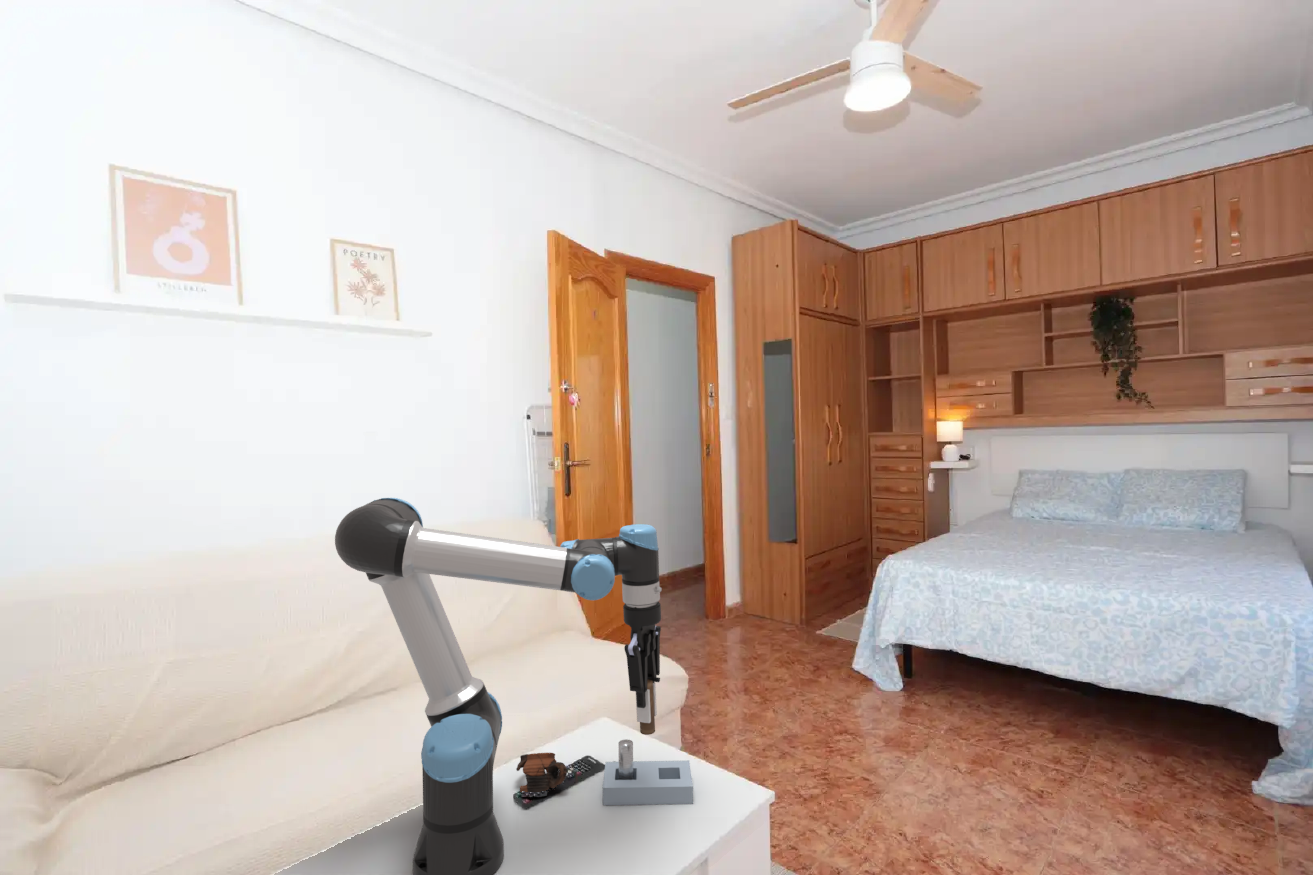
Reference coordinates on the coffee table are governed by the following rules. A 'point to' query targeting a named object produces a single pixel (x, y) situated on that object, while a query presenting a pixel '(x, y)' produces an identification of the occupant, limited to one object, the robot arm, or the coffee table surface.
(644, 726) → the walnut peg
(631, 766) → the grey steel peg
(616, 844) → the coffee table surface
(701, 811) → the coffee table surface
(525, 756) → the pottery mug
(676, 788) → the socket block
